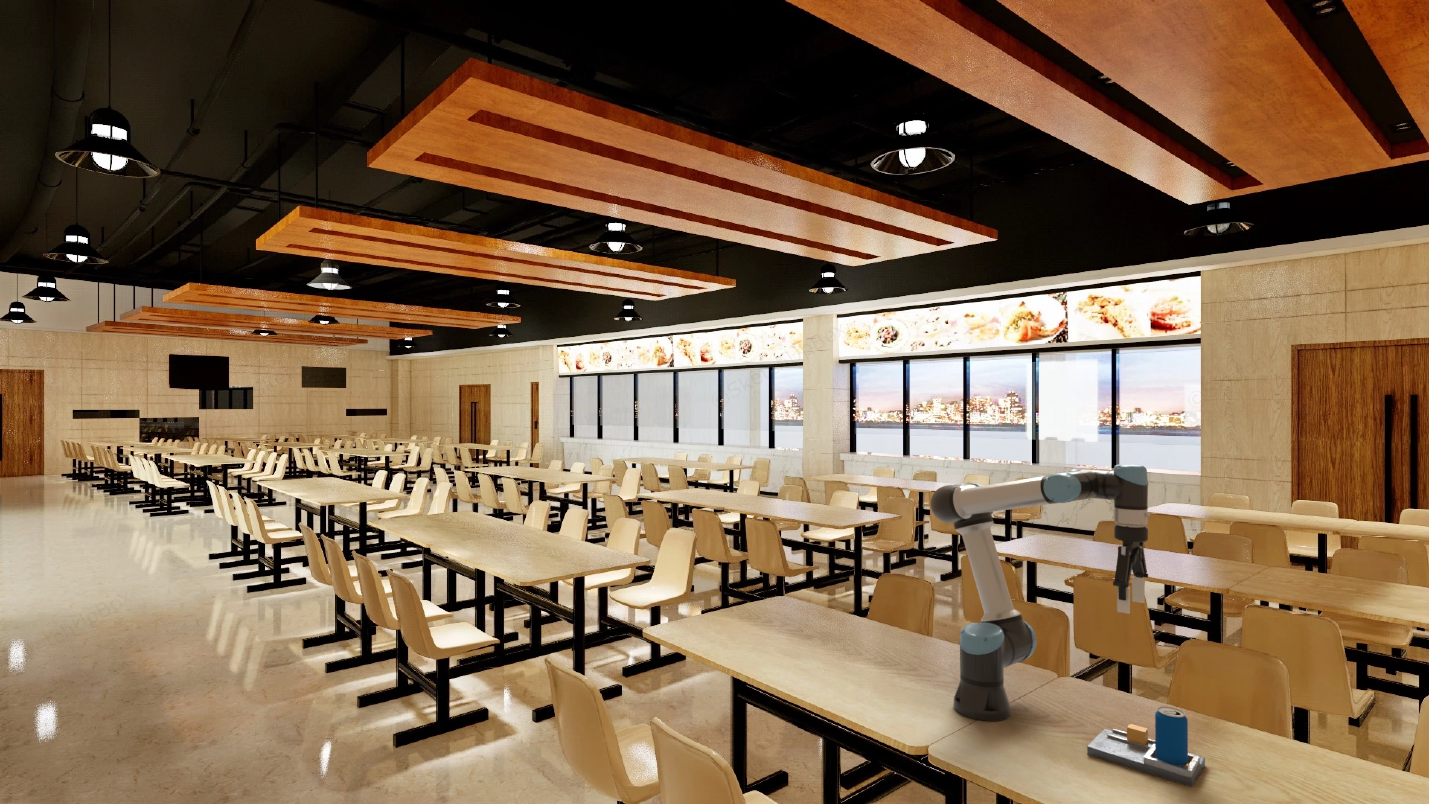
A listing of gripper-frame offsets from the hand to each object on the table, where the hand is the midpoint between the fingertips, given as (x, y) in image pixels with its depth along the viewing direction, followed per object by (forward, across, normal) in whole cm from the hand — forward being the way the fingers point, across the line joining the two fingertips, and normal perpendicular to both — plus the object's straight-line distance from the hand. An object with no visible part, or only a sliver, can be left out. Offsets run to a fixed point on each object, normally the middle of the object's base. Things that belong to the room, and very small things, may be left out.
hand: (1131, 607), depth 184 cm
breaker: (+32, -3, -2) cm, 33 cm away
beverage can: (+33, -10, -11) cm, 36 cm away
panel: (+35, -8, -5) cm, 36 cm away
